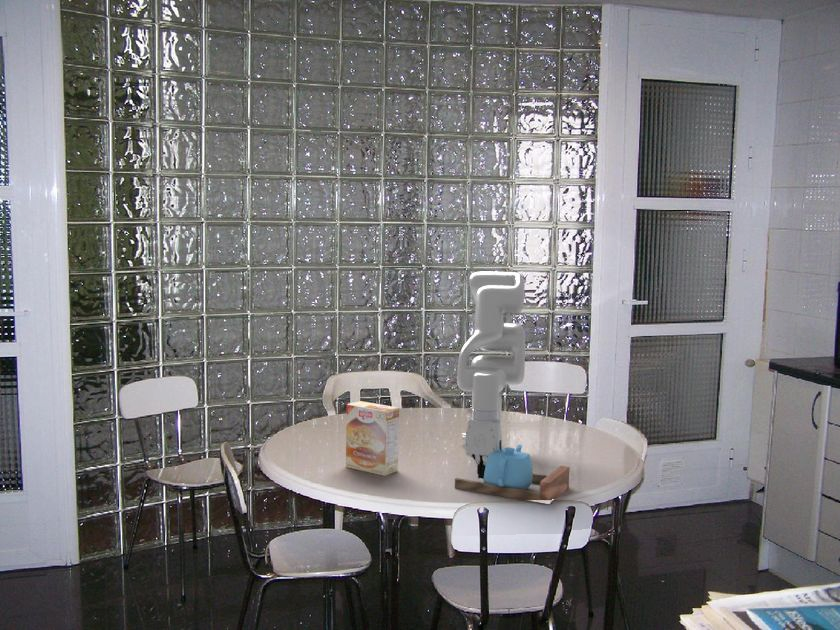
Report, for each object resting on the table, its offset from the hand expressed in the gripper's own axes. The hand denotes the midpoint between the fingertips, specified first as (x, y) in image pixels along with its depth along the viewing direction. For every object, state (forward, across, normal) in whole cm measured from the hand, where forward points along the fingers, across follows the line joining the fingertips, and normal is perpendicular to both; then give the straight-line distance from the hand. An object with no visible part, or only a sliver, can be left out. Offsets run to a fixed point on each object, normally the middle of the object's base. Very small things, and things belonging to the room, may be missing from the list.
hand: (482, 477), depth 228 cm
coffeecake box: (+2, -34, -6) cm, 34 cm away
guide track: (+1, +9, 0) cm, 9 cm away
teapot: (+1, +9, -1) cm, 9 cm away
